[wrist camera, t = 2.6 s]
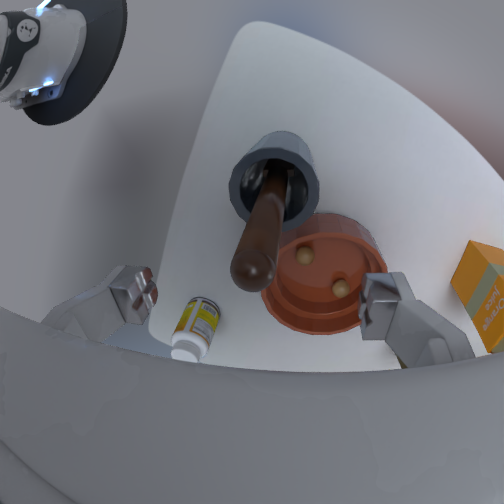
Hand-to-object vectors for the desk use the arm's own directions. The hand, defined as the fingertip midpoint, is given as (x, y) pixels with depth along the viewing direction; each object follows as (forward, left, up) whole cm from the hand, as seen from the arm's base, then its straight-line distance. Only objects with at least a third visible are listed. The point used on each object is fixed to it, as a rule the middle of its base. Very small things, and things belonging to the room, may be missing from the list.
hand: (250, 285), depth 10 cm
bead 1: (+2, -11, -21) cm, 24 cm away
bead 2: (+7, -16, -21) cm, 27 cm away
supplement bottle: (-13, -23, -23) cm, 35 cm away
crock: (0, 0, -23) cm, 23 cm away
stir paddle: (0, 0, -22) cm, 22 cm away
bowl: (+5, -14, -23) cm, 27 cm away
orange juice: (+31, -14, -23) cm, 41 cm away
